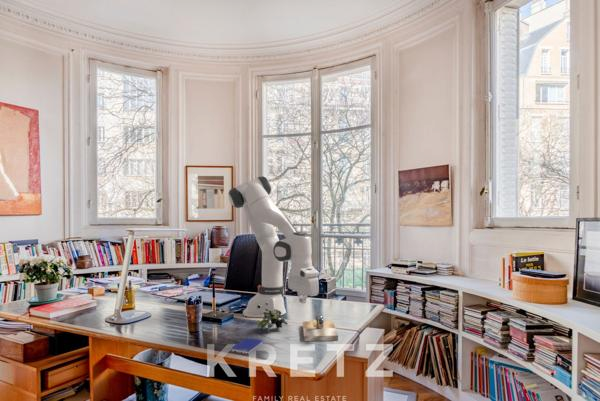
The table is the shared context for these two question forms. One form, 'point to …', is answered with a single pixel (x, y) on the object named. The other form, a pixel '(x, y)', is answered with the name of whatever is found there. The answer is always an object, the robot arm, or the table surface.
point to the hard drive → (246, 345)
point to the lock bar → (320, 320)
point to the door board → (319, 331)
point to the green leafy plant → (272, 319)
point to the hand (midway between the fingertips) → (302, 302)
